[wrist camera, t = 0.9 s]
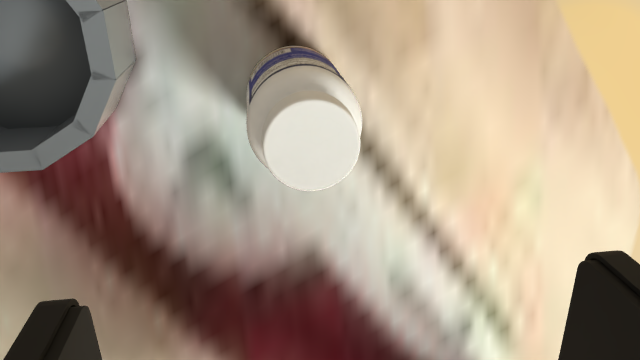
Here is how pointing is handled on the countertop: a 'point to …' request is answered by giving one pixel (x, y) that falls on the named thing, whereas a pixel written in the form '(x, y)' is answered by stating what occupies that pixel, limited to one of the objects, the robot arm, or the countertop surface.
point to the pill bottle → (303, 119)
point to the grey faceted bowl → (59, 75)
